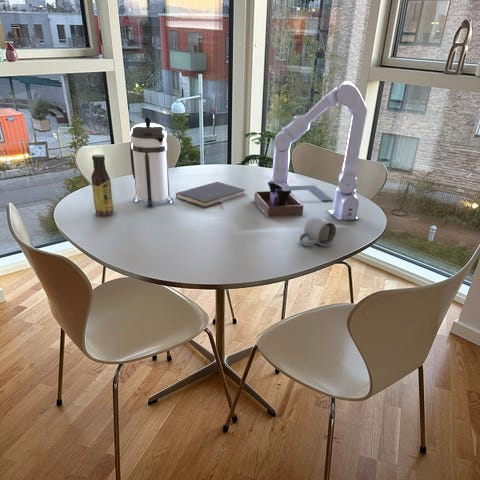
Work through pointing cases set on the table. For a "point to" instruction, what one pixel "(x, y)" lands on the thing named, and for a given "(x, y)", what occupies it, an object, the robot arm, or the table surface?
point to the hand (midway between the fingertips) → (277, 204)
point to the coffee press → (150, 162)
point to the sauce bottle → (101, 187)
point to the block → (274, 200)
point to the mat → (313, 190)
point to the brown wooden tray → (290, 209)
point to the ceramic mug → (318, 232)
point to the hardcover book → (209, 194)
